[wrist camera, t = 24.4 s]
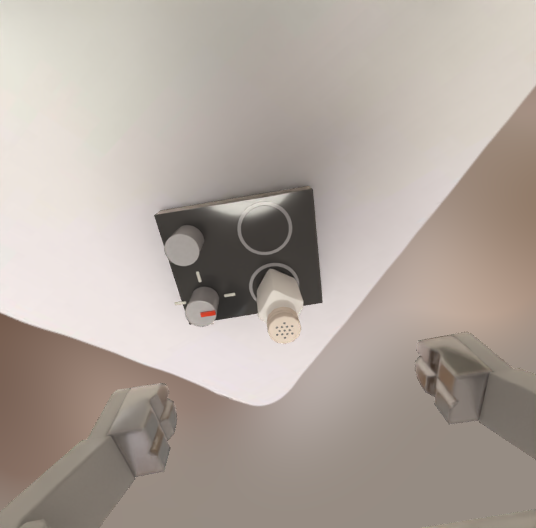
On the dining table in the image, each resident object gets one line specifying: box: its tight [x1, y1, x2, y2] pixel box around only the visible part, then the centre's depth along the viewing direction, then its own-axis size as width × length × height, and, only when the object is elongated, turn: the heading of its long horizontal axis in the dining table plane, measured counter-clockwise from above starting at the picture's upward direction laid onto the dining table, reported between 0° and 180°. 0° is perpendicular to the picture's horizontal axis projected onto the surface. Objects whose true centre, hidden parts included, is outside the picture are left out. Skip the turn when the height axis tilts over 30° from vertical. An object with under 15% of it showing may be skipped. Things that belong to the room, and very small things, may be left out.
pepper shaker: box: [257, 269, 303, 344], centre depth 31 cm, size 4×4×10 cm
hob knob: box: [185, 287, 219, 327], centre depth 34 cm, size 4×4×4 cm
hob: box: [154, 186, 322, 324], centre depth 35 cm, size 19×15×3 cm
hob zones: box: [164, 202, 299, 302], centre depth 32 cm, size 14×14×4 cm
